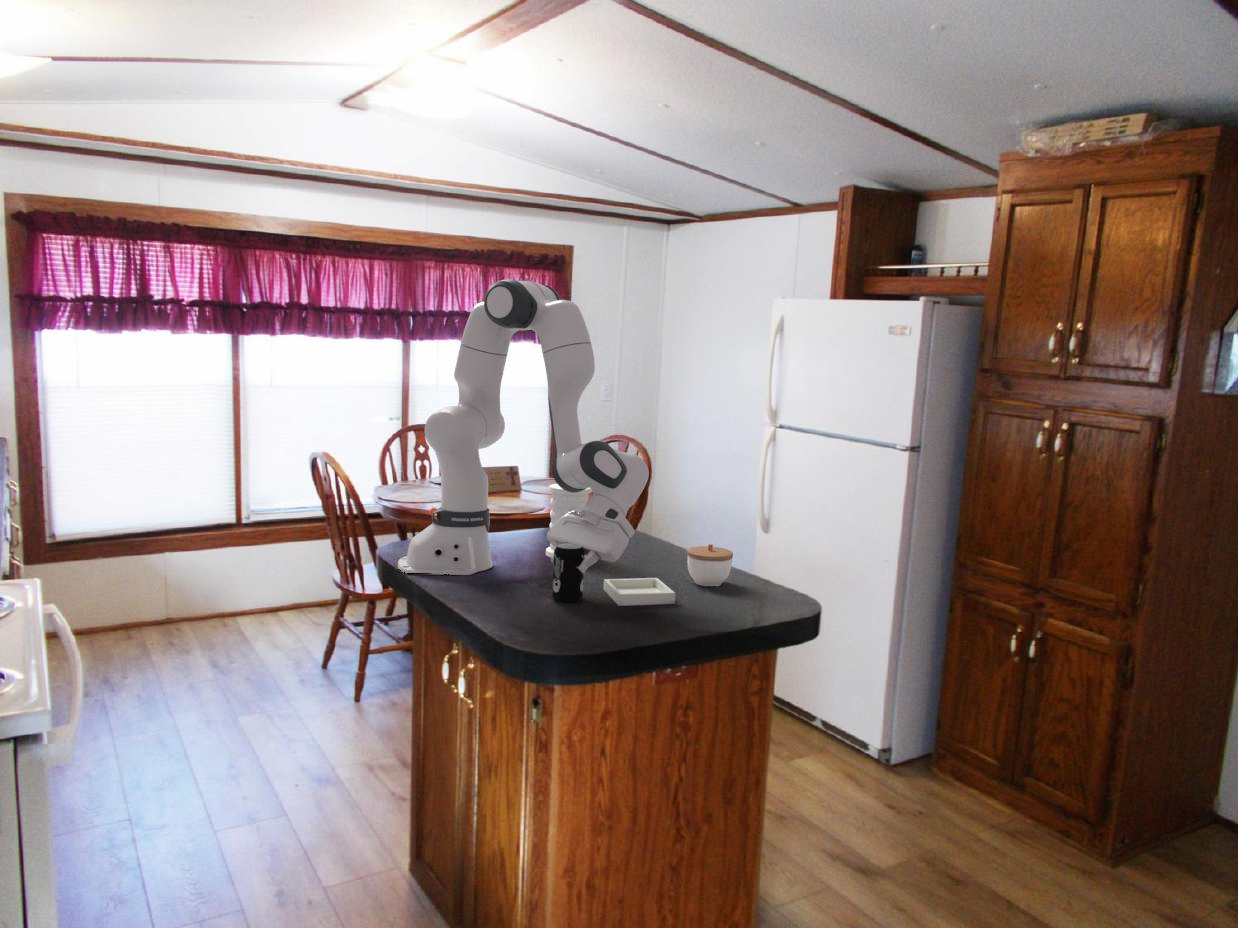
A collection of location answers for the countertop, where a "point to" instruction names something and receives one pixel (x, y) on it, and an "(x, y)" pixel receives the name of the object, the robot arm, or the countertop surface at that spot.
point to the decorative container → (565, 506)
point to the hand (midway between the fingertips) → (566, 566)
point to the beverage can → (567, 573)
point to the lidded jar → (709, 564)
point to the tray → (639, 591)
